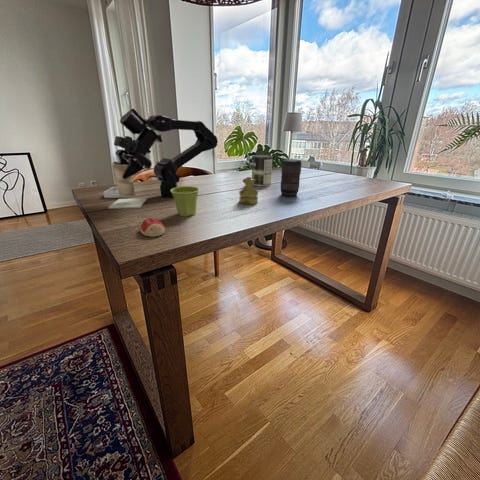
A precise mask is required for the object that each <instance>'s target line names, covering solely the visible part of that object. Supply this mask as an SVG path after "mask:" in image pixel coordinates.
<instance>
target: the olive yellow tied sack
mask: <svg viewBox="0 0 480 480" xmlns="http://www.w3.org/2000/svg"><path fill="white" fill-rule="evenodd" d="M242 182H243V183H244V185H245V186H244V187H243V188H241V189H240V190H239V203H240V204H241V205H244V206H245V205H247V206H251V205H256V204H257V203H258V201H259V200H258V199H259V197H258V195H259V191H258V190H257V189H255V187H254V185H252V184H253V183H254V182H255V179H253V178H252V176H247V177H246V178H243V179H242Z"/></svg>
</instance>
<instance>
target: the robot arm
mask: <svg viewBox="0 0 480 480" xmlns="http://www.w3.org/2000/svg"><path fill="white" fill-rule="evenodd" d="M119 123H120V124H122V126H123V127H125V128H126V130H128V132H130V133H131V134H132V135H138V136H137V138H136V139H133V137H131V136H129V135H126V136H124V137H123V136H118V135H115V137H114V138H115V139H114V143H113V146H115V147H120V148H122V149H117V150H116V151H115V153H114V154H115V155H116V156H117V158H118V160H119V162H118V165H128V166H127V168H126V170H125V172H124V174H123V178H124V179H126V178H128V177H130V176H131V175H132V176H133V175H136V173H139V172H142V171H143V170H145V169H147V170H150V168H151V167H152V165H153V164H152V161H151V160H150V159H149V158H148V157H147V156H146V155H147V154H151V152H152V151H151V148H152V147H153V146H154V144H155V142H156V143H163V139H162V135H161V134H157V132H158V133H159V132H161V133H162V132H163V133H164V132H169V131H173V130H179V131H180V130H183V131H193V132H194V135H195V137H196V141H195V143H194V144H193V145H190V146H189V147H188V148H186V149H185V150H183V151H181V152H180V153H179V154H177V155H175V156H174V157H172V158H165V157H163V158H162V159H161V160H160V161H156V162H155V165H154V167H153V174H154V175H155V176H156V177H157V179H158V181H160V185H159V188H160V195H161V198H174V197H173V195H172V193H171V191H170V190H171V189H173V188H176V187H178V183H179V182H180V176H179V175H178V174H177V173H178V170H179V169H180V168H181V167H183V166H184V165H185V164H187V163H188V162H190V161H191V160H193V159H194V158H196V157H197V156H199V155H200V154H201V153H203V152H208V151H211V150H213V149H215V148H217V146H218V138H217V136H216V135H214V132H213V131H212V130H210V128H208V127H207V126H206V124H204V122H203V121H202V120H183V119H173V118H172V117H169V116H166V115H162V114H160V115H159V114H156V115H150V116H149V117H148V118H147V119H146V118H145V119H144V118H143V117H142V116H141V115H140V114H139V113H138V112H137V110H136V109H134V108H130V110H129V111H127V112H126V113H125V114H123V115H122V116H121V118H120V119H119Z"/></svg>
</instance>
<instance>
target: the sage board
mask: <svg viewBox="0 0 480 480" xmlns="http://www.w3.org/2000/svg"><path fill="white" fill-rule="evenodd" d="M146 201H148V199H147V198H117V200H115V201H114V202H112V203H111V204H110V205H109V206H108V207H107V208H108V210H109V209H140V208H141V207H142V205H144V204H145V202H146Z"/></svg>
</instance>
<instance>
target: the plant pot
mask: <svg viewBox="0 0 480 480" xmlns="http://www.w3.org/2000/svg"><path fill="white" fill-rule="evenodd" d="M170 191H171V193H172V195H173V197H172V198H173V199H174V200H173V201H174V203H175V208H176V210H177V214H178V215H179V216H181V217H189V216H194V215H196V213H197V201H198V200H197V199H198V198H197V197H198V194H199V192H200V188H199V187H196V186H191V185H190V186H189V185H186V186H177V187H176V188H173V189H171V190H170Z"/></svg>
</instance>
